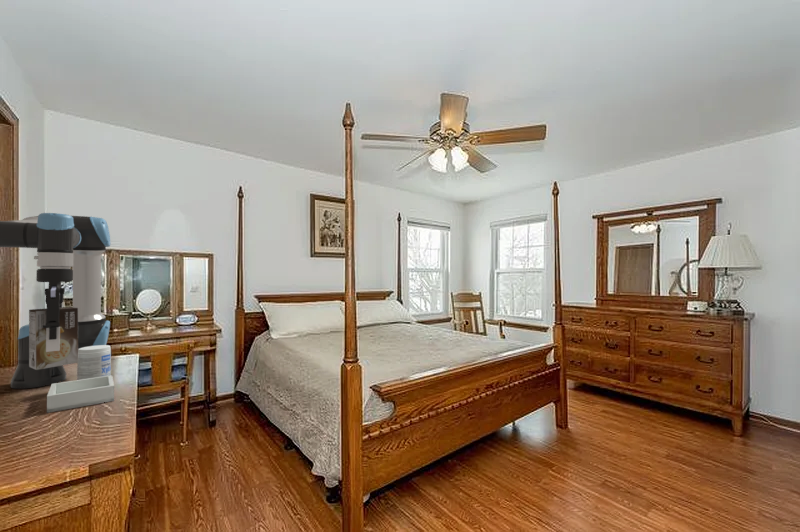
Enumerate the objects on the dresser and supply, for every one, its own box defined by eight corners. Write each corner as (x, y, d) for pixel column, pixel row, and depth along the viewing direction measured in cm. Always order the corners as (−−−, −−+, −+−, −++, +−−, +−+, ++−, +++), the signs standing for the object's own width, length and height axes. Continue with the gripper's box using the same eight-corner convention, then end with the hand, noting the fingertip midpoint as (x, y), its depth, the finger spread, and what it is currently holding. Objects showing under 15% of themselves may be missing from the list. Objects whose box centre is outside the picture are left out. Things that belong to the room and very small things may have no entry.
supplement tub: (108, 388, 133) (109, 348, 133) (74, 393, 128) (75, 351, 128) (111, 381, 141) (112, 343, 141) (79, 385, 136) (80, 346, 136)
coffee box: (70, 360, 108) (71, 306, 109) (78, 363, 105) (79, 307, 105) (27, 367, 101) (28, 309, 101) (34, 370, 97) (35, 310, 98)
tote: (51, 398, 122) (51, 383, 122) (112, 388, 132) (112, 375, 132) (46, 412, 110) (47, 396, 110) (114, 400, 120) (114, 385, 120)
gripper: (40, 268, 109) (39, 344, 108) (32, 267, 93) (30, 357, 93) (74, 268, 113) (73, 341, 113) (71, 268, 98) (70, 353, 98)
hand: (54, 348), depth 103 cm, fingers closed on coffee box, 7 cm apart
